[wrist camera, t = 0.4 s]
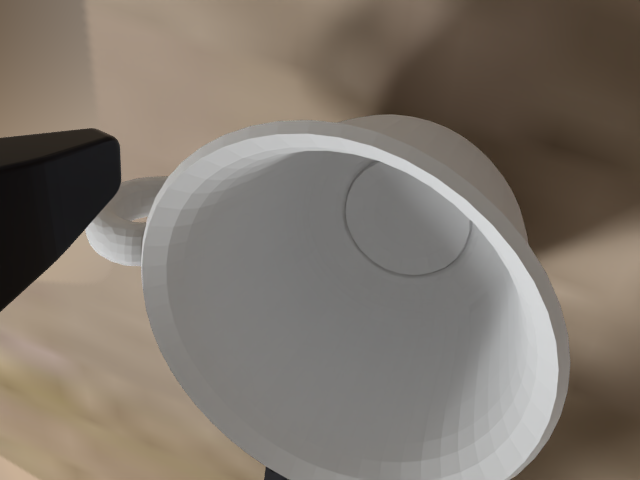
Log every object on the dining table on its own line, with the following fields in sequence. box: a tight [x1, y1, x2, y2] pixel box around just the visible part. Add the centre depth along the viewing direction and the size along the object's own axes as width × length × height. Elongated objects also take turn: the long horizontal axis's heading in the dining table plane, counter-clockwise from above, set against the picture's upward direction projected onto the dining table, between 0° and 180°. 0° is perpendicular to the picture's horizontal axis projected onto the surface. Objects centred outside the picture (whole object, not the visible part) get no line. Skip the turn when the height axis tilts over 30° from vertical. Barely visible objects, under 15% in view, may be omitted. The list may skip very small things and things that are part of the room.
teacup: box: [86, 114, 570, 480], centre depth 19 cm, size 12×15×10 cm
